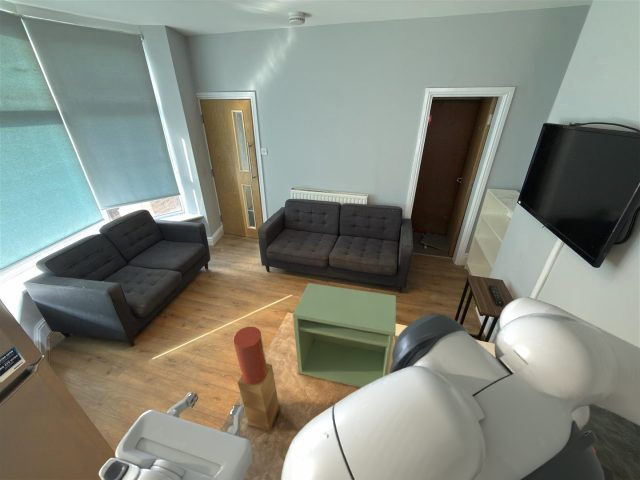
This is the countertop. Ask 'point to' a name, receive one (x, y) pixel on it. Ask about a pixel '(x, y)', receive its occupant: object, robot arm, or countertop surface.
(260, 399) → the plinth
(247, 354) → the red tall cylinder
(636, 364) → the robot arm
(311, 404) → the countertop surface
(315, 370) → the cupboard
